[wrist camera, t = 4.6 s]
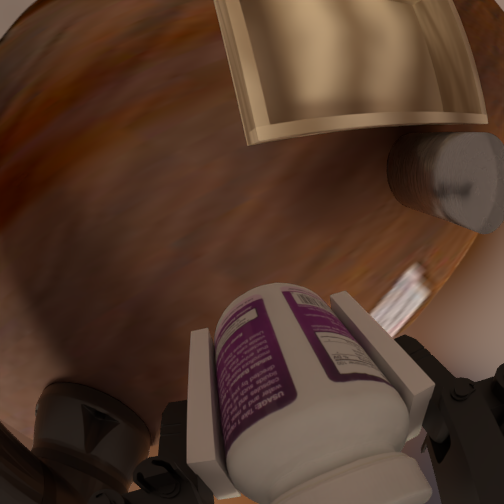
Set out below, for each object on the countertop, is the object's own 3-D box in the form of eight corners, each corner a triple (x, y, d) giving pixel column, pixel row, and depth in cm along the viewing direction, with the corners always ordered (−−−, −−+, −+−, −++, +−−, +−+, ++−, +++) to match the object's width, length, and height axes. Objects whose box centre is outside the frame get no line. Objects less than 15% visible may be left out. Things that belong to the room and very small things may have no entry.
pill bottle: (236, 389, 14) (271, 570, 4) (195, 303, 12) (195, 549, 3) (337, 353, 14) (434, 509, 5) (318, 261, 12) (487, 435, 3)
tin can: (390, 214, 24) (460, 243, 15) (381, 135, 21) (455, 132, 13) (444, 202, 24) (512, 224, 16) (438, 131, 22) (509, 133, 13)
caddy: (247, 146, 21) (258, 141, 15) (212, -4, 16) (213, -43, 11) (445, 124, 22) (488, 123, 16) (411, 3, 17) (444, -16, 12)
